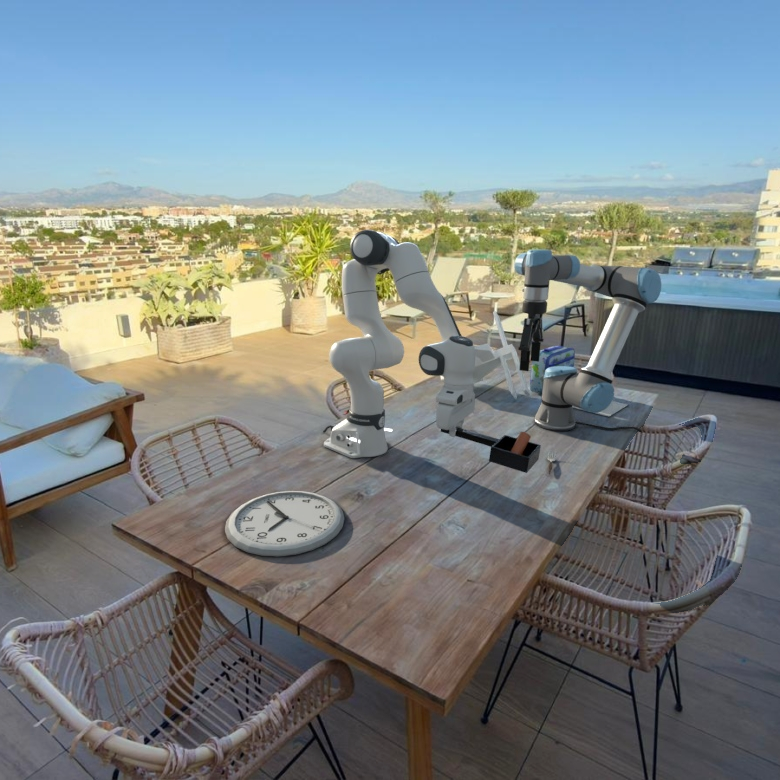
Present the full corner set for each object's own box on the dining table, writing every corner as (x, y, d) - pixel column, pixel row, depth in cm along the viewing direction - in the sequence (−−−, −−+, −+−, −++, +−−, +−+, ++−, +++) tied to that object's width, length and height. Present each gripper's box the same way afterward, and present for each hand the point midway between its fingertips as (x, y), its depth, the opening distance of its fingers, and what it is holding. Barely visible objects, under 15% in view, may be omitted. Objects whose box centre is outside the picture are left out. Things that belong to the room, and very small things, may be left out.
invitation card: (608, 416, 214) (573, 407, 224) (608, 416, 214) (573, 408, 224) (628, 404, 229) (594, 396, 238) (628, 405, 229) (594, 397, 238)
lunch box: (546, 399, 235) (551, 353, 228) (525, 393, 242) (530, 349, 236) (574, 387, 252) (579, 345, 246) (553, 383, 260) (558, 341, 253)
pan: (538, 459, 154) (541, 445, 152) (526, 473, 145) (529, 458, 143) (449, 432, 168) (450, 419, 166) (433, 443, 159) (434, 429, 157)
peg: (510, 454, 154) (520, 434, 155) (520, 459, 152) (530, 438, 154) (509, 450, 151) (520, 430, 153) (520, 455, 149) (530, 435, 151)
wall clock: (344, 547, 121) (211, 552, 118) (344, 554, 121) (212, 558, 119) (344, 486, 149) (237, 489, 147) (344, 491, 150) (237, 494, 147)
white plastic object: (461, 429, 252) (437, 405, 227) (444, 352, 274) (420, 323, 250) (535, 404, 240) (518, 377, 215) (510, 326, 262) (492, 293, 237)
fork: (544, 474, 162) (545, 469, 162) (548, 455, 177) (548, 449, 176) (553, 476, 161) (554, 470, 161) (556, 456, 176) (557, 450, 175)
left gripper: (462, 381, 166) (460, 421, 170) (433, 397, 149) (431, 442, 154) (481, 384, 163) (478, 425, 167) (453, 401, 146) (450, 447, 150)
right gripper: (533, 294, 176) (527, 355, 183) (512, 304, 156) (507, 373, 162) (555, 296, 173) (549, 358, 179) (537, 306, 152) (531, 376, 159)
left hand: (455, 434), depth 160 cm, fingers closed on pan, 2 cm apart
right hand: (529, 365), depth 171 cm, fingers open, 13 cm apart
